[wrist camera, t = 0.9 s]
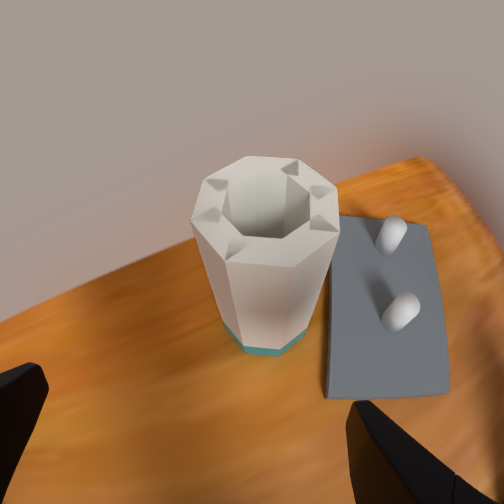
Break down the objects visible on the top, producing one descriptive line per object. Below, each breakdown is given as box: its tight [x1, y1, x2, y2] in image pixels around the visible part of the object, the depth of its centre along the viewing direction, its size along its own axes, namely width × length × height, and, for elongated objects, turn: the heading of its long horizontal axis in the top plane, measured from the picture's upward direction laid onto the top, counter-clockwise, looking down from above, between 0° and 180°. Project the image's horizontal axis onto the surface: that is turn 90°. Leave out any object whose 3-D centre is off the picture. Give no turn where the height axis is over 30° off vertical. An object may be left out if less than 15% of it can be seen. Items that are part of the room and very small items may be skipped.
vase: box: [190, 156, 340, 357], centre depth 18 cm, size 6×6×13 cm
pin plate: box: [325, 215, 450, 399], centre depth 22 cm, size 16×10×4 cm, turn 173°
